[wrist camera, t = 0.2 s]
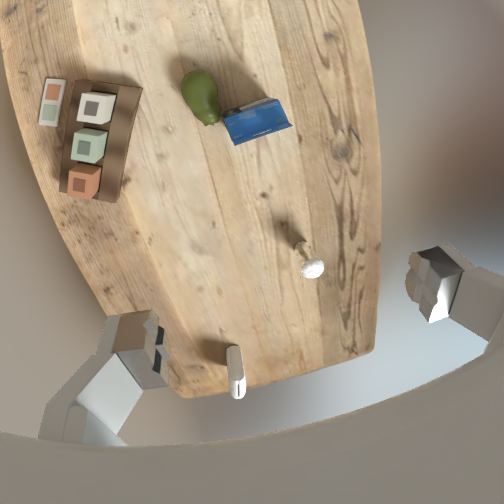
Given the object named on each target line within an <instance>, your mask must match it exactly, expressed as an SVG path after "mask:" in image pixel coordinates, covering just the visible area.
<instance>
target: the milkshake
mask: <svg viewBox="0 0 504 504" xmlns="http://www.w3.org/2000/svg"><path fill="white" fill-rule="evenodd" d="M295 252H296V255H297V258H298V261H299V264H300V268H301V274H303V276H305V277H306V278H316V277H318V276H320V275H321V273H322V272H323V270H324V264H323V262H322V261H321V259H320V258H319V257H318V256H317V254H316V253H315V252H314V250H313V249H312V248H311V246H310V245H309V244H308V243H307V242H305V241H300V242H298V243H297V244H296V245H295ZM300 278H301V275H300Z"/></svg>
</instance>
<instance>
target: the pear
mask: <svg viewBox="0 0 504 504" xmlns="http://www.w3.org/2000/svg"><path fill="white" fill-rule="evenodd" d="M181 91H182V95H183V97H184V100H185V102H186V103H187V104H188V105H189V106H190V107H191V108H192V110H193V112H194V115H195V117H196V118H197V119H199V120H200V121H202V122H203V123H204V125H205V126H207V125H209V124H210V125H212V124H213V125H214V123H218V121H219V113H220V111H221V107H220V105H219V102H218V98H217V97H218V90H217V86H216V84H215V82H214V80H213V78H212V77H211V75H210V74H209V73H207V72H205V71H202V70H197V71H193V72H190V73H189V74H187V75H186V76H185V77H184V78H183V80H182V82H181Z"/></svg>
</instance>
